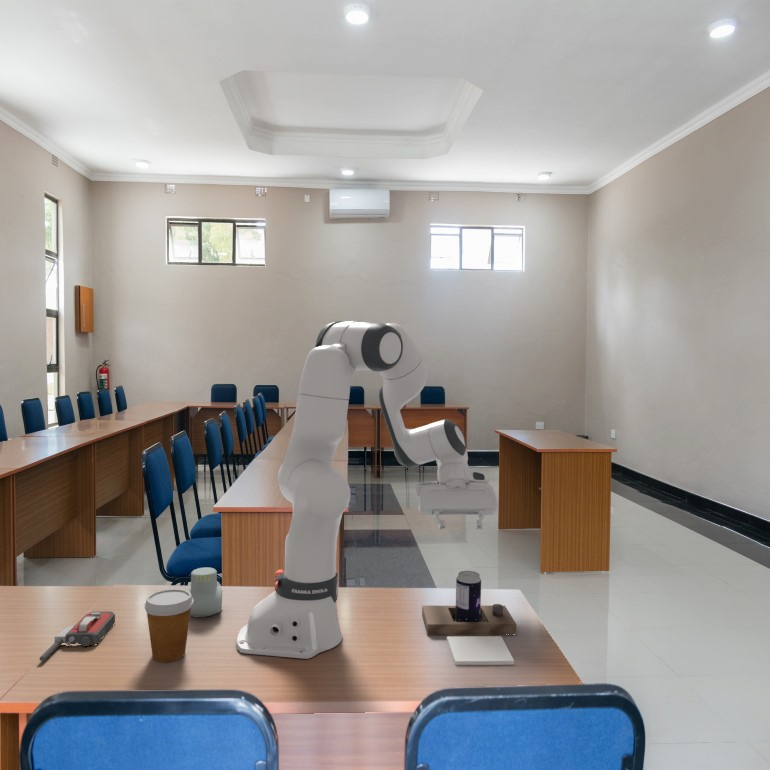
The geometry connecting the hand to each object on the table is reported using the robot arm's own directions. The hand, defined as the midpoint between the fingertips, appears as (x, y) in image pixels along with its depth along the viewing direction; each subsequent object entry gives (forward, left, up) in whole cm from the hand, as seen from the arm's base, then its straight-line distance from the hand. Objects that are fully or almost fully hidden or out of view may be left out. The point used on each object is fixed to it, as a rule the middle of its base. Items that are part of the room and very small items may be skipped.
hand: (460, 528), depth 154 cm
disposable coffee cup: (-64, -26, -19) cm, 72 cm away
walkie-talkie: (-85, -20, -20) cm, 89 cm away
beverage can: (0, -13, -19) cm, 23 cm away
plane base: (0, -13, -19) cm, 23 cm away
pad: (0, -26, -19) cm, 32 cm away
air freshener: (-62, -5, -19) cm, 65 cm away
